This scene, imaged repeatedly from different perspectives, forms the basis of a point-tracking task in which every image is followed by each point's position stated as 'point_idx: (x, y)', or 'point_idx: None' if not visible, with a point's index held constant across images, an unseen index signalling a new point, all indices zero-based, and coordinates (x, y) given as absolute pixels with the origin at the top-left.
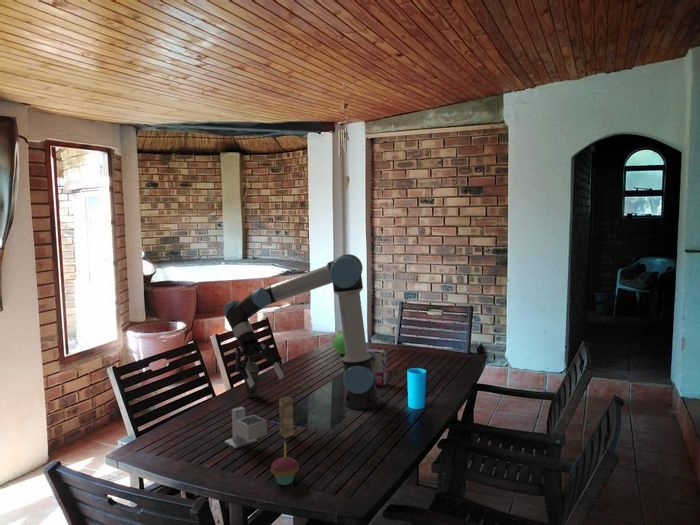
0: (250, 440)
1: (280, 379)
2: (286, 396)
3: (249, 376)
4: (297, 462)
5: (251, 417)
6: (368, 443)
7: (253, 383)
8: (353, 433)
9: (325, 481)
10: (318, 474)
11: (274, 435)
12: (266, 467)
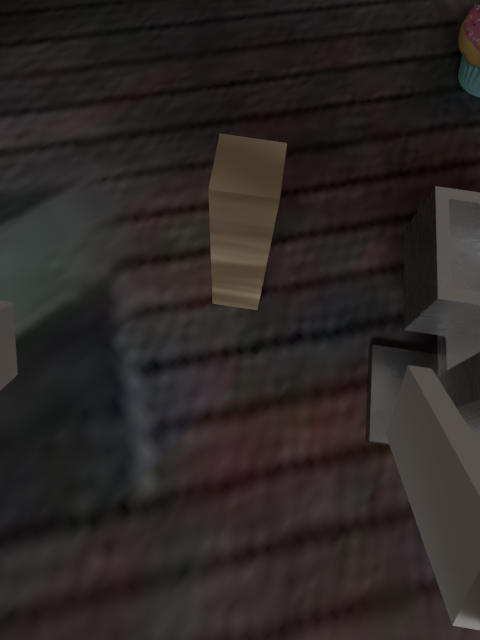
0: (403, 358)
1: (11, 367)
2: (214, 187)
3: (466, 428)
4: (475, 7)
5: (465, 293)
6: (110, 33)
7: (420, 367)
8: (61, 102)
9: (395, 10)
10: (381, 39)
11: (271, 330)
12: (475, 169)
